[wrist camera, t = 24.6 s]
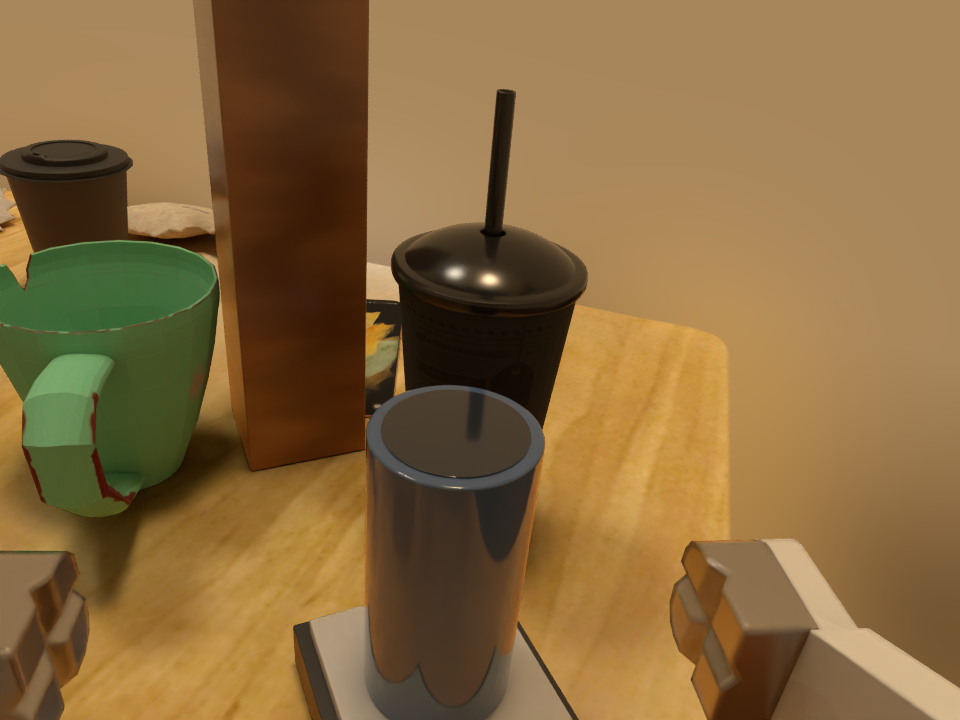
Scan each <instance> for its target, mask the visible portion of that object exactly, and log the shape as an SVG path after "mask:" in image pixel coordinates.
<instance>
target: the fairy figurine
mask: <svg viewBox="0 0 960 720" xmlns="http://www.w3.org/2000/svg"><path fill="white" fill-rule="evenodd" d="M5 190H6V188H2V189H0V224H2V223H5V222H7V221H10V220H12V219H15V217H13V216H12V215H11V214H10V213H9V212H8V211H7V210H9V209H11V208H12V207H14V206H15V205H17V204H16V203H14V202H12V201H10V200H8V199H6V198H4V197H3V196H4V193H5ZM0 231H5V230H4V229H2V228H1V226H0Z"/></svg>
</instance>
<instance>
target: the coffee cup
mask: <svg viewBox="0 0 960 720" xmlns="http://www.w3.org/2000/svg"><path fill="white" fill-rule="evenodd" d="M132 166H133V160H132V159H131V158H129V157H128V155H127V153H126V152H125V151H123V150H122V149H119V148H116V147H113V146H109V145H103V144H98V143H94V142H90V141H81V140H54V141H45V142H39V143H35V144H31V145H29V146H26V147H22V148H18V149H15V150H12V151H9V152H7V153H5V154H4V155H2V156H1V158H0V174H1V175H4V176H6V177H7V179H8V182H9V185H10V188H11V190H12V193H13V196H14V199H15V201H16V204H17V207H18V210H19V212H20V215H21V218H22V221H23V224H24V226H25V229H26V232H27V235H28V237H29V240H30V243H31V246H32V248H33V251H34V253H35V252H38V251H42V250H45V249H48V248H52V247H58V246H64V245H70V244H76V243H83V242H96V241H113V240H127V241H128V210H127V177H126V171H127V170H128V169H129V168H131V167H132Z"/></svg>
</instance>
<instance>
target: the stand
mask: <svg viewBox="0 0 960 720" xmlns="http://www.w3.org/2000/svg"><path fill="white" fill-rule="evenodd" d="M193 5H194V16H195V27H196V38H197V47H198V58H199V69H200V80H201V90H202V101H203V111H204V121H205V132H206V143H207V153H208V163H209V174H210V184H211V195H212V204H213V205H212V206H213V216H214V227H215V237H216V248H217V258H218V269H219V279H220V290H221V300H222V311H223V321H224V332H225V342H226V353H227V363H228V374H229V384H230V395H231V405H232V411H233V414H234V418H235V421H236V424H237V427H238V431H239V434H240V437H241V440H242V443H243V447H244V450H245V453H246V456H247V460H248V463H249V466H250V469H251V471H255V470H260V469H265V468H270V467H275V466H280V465H286V464H291V463H296V462H301V461H306V460H311V459H316V458H321V457H327V456H332V455H337V454H342V453H347V452H352V451H357V450H362V449H365V373H366V265H367V259H366V258H367V257H366V256H367V157H368V156H367V155H368V154H367V153H368V151H367V150H368V49H369V48H368V47H369V46H368V44H369V43H368V42H369V0H193Z"/></svg>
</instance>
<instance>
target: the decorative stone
mask: <svg viewBox="0 0 960 720" xmlns="http://www.w3.org/2000/svg"><path fill="white" fill-rule="evenodd" d="M127 210H128V233H131V234H136V235H143V236H151V237H158V238H164V239H171V238H187V237H192V236H197V235H203V234H208V233H210V234H215V227H214V216H213V210H212V209H209V208H205V207H199V206H192V205H184V204H174V203H171V202H165V203H151V204H144V205H136V206H127Z"/></svg>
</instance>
